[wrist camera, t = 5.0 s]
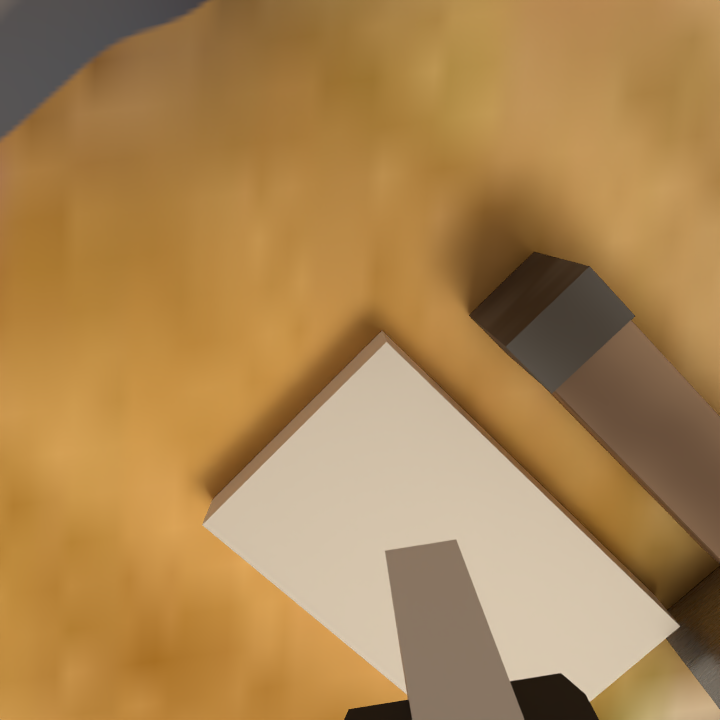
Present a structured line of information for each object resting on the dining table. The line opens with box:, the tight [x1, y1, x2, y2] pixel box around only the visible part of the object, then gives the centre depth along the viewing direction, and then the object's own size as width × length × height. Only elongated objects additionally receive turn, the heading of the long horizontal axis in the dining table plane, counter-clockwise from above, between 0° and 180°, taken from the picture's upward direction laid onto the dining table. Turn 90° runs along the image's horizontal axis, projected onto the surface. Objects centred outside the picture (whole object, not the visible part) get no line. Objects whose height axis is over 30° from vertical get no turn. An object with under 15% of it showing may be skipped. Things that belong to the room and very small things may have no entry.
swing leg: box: [469, 252, 720, 564], centre depth 27 cm, size 4×16×6 cm, turn 45°
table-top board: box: [202, 331, 680, 702], centre depth 30 cm, size 11×19×2 cm, turn 45°
